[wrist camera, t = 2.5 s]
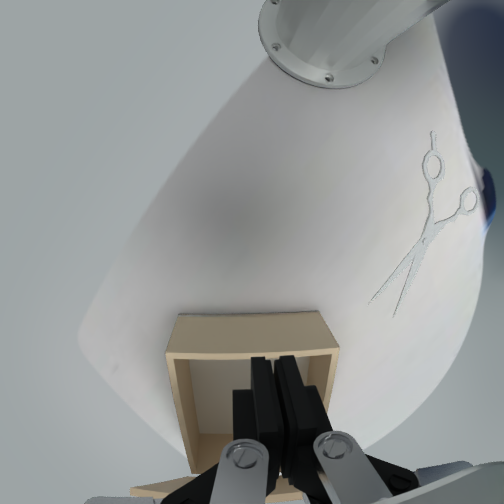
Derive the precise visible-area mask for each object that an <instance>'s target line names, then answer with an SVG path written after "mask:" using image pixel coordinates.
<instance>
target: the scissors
mask: <svg viewBox="0 0 504 504" xmlns="http://www.w3.org/2000/svg"><path fill="white" fill-rule="evenodd" d="M430 136H431V148H432V151H428V153H427V154H426V155H425V156H424V160H423V163H422V169H423V174H424V176H425V179H426V180H427V182H428V186H429V194H428V196H427V201H428V204H429V215H428V218H427V220H426V223H425V226H424V229H423V232H422V235H421V238H420V239H419V241H418V242H417V243H416V245H415V246H414V247H413V248H412V250H411V251H410V252H409V253H408V255H407V256H406V257H405V258H404V259H403V261H402V262H401V263H400V265H399V266H398V267H397V268H396V270H395V271H394V272H393V274H392V275H391V276H390V277H389V279H388V280H387V281H386V282H385V284H384V285H383V286H382V287H381V288H380V290H379V291H378V292H377V293H376V295H375V296H374V297H373V298H372V300H371V301H370V302H369V304H370V303H371V302H372V301H373V300H374V299H375V298H376V297H377V296H378V295H379V294H380V293H381V292H382V291H383V290H384V289H385V288H386V287H387V286H388V285H390V284H391V283H392V282H393V280H394V279H395V278H396V277H397V276H398V275H399V274H400V273H401V272H402V271H403V270H404V269H405V268H406V267H407V266H408V265H409V264H410V263H411V262H412V261H413V263H412V266H411V269H410V272H409V275H408V278H407V281H406V284H405V287H404V290H403V292H402V295H401V298H400V301H399V303H398V306H397V309H396V311H395V313H396V312H397V310H398V308H399V306H400V304H401V303H402V301H403V299H404V297H405V295H406V293H407V291H408V289H409V287H410V285H411V283H412V281H413V279H414V277H415V275H416V273H417V271H418V269H419V266H420V264H421V262H422V259H423V257H424V255H425V252H426V250H427V248H428V245H429V244H430V243H431V242H432V241H433V240H434V239H435V237H436V236H437V235H438V233H439V232H440V231H441V230H442V229H443V227H444V226H445V225H446V224H447V223H449V222H454V221H455V219H456V218H457V216H458V215H459V214H464V215H470V214H472V213H474V212H475V211H476V209H477V207H478V205H479V193H478V191H477V190H476V189H475V188H472V187H469V188H467V189H466V190H464V191H463V193H462V194H461V195H460V207H459V208H458V209H457V211H456V212H455V214H454V215H453V216H451V217H450V218H448V219H445V220H443V221H439V222H437V223H434V210H433V192H434V189H435V187H436V184H437V183H438V182H439V181H441V180H442V179H444V175H445V164H444V160H443V157H442V156H441V154H440V153H439V152H438V151H437V148H436V132H434V131H431V133H430ZM433 155H436V157H437V158H438V159H439V161H440V171H439V174H438V176H437V177H436V178H434V179H433V178H432V177H431V176H430V175H429V174H428V170H427V164H428V161H429V159H430V157H431V156H433ZM471 191H473V192H474V193H475V195H476V204H475V206H474V208H473V209H472V210H470V211H466V210H465V208H464V200H465V198H466V196H467V195H468V193H470V192H471ZM413 259H414V260H413ZM394 315H395V314H394ZM393 317H394V316H393Z"/></svg>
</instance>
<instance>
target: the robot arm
mask: <svg viewBox="0 0 504 504" xmlns="http://www.w3.org/2000/svg"><path fill="white" fill-rule="evenodd" d="M448 1H450V0H266V1H265V3H264V4H263V7H262V9H261V11H260V15H259V20H258V32H259V36H260V39H261V42H262V44H263V46H264V48H265V50H266V52H267V53H268V55H269V56H270V57H271V59H272V60H273V61H274V62H275V63H276V64H277V65H278V66H279V67H280V68H281V69H283V70H284V71H285V72H287V73H288V74H290V75H291V76H293V77H295V78H297V79H299V80H301V81H303V82H305V83H308V84H311V85H314V86H317V87H324V88H347V87H352V86H355V85H357V84H360V83H362V82H364V81H365V80H367V79H369V78H370V77H371V76H372V75H373V74H374V73H376V72H377V70H378V69H379V68H380V66H381V64H382V62H383V59H384V56H385V45H386V44H388V43H389V42H390V41H392V40H393V39H394V38H396V37H397V36H398V35H400V34H401V33H403V32H404V31H405V30H407V29H408V28H410V27H411V26H413V25H414V24H415V23H417V22H418V21H420V20H421V19H423V18H424V17H426V16H427V15H429V14H430V13H432V12H433V11H435V10H436V9H438V8H439V7H441V6H442V5H444V4H445V3H447V2H448ZM273 48H276V49H277V50H278V51H275V50H273ZM325 78H327V79H328V80H329V82H328V81H326V80H325ZM232 402H233V441H232V442H230V443H228V444H227V445H226V446H225V447H224V448H223V450H222V452H221V456H220V461H219V462H218V463H217V464H215V465H214V466H212V467H211V468H210V469H208V470H207V471H205V472H204V473H202V474H201V475H199V476H198V477H196V478H194V479H193V480H191V481H190V482H188V483H187V484H185V485H183V486H182V487H180V488H178V489H177V490H175V491H173V492H172V493H170V494H168V495H167V496H166V497H165V498H160V499H154V498H153V497H92V498H91V499H88V500H87V501H86V502H85V503H84V504H265V499H266V497H267V496H268V495H269V494H270V493H271V492H273V491H274V490H275V488H276V481H277V479H278V478H279V472H280V467H281V473H282V478H283V479H285V478H288V483H289V485H293V486H294V487H295V488H296V489H298V490H300V491H301V493H302V497H303V500H304V502H305V504H504V462H502V461H499V462H489V463H484V464H479V465H476V466H473V465H472V464H470V463H469V462H466V461H457V462H453V463H447V464H442V465H437V466H432V467H426V468H419V469H417V470H416V471H415V472H412V471H410V470H408V469H405V468H402V467H399V466H397V465H394V464H391V463H388V462H385V461H382V460H380V459H377V458H374V457H372V456H369V455H367V454H364V452H363V451H362V449H361V448H360V446H359V445H358V443H357V442H356V440H355V439H354V438H353V437H352V436H351V435H349V434H347V433H345V432H341V431H333V429H332V427H331V424H330V421H329V419H328V416H327V413H326V411H325V408H324V405H323V403H322V400H321V397H320V395H319V392H318V389H317V387H316V386H315V385H309V386H304V384H303V381H302V378H301V375H300V372H299V369H298V366H297V362H296V359H295V356H294V355H284V356H279V359H276V360H274V373H273V369H272V364H271V360H266V359H265V356H263V357H251V389H236V390H232Z"/></svg>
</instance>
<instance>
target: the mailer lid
mask: <svg viewBox="0 0 504 504" xmlns="http://www.w3.org/2000/svg"><path fill="white" fill-rule="evenodd" d="M194 478H196V477H188V476H187V477H183V478H179V479H174V480H170V481H165V482H161V483H155V484H150V485H144V486H137V487H131V488H130V495H132V496H138V497H153V498H154V499H160V498H165V497H166V496H167V495H168V494H170V493H172V492H173V491H175V490H177V489H178V488H180V487H182V486H183V485H185V484H187V483H188V482H190V481H191V480H193V479H194ZM302 499H303V497H302V493H301V491H300V490H298V489H296V488H295V487H294V486H293V485H289V483H288V478H285V479H283V478H282V475H280V476H279V478H278V479H277V481H276V488H275V490H274V491H273V492H271V493H270V494H269V495H268V496H267V497H266V499H265V503H272V502H283V501H293V500H302Z"/></svg>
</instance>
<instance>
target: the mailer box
mask: <svg viewBox="0 0 504 504" xmlns="http://www.w3.org/2000/svg"><path fill="white" fill-rule="evenodd" d="M339 349H340V347H339V345H338V343H337V342H336V340H335V338H334V336H333V335H332V333H331V331H330V330H329V328H328V326H327V324H326V323H325V321H324V319H323V318H322V316H321V314H320V312H319V311H309V312H287V313H256V314H179V315H178V318H177V321H176V323H175V326H174V329H173V332H172V335H171V337H170V340H169V343H168V346H167V349H166V352H165V354H166V360H167V366H168V371H169V377H170V382H171V388H172V393H173V398H174V403H175V407H176V412H177V417H178V421H179V426H180V430H181V434H182V438H183V442H184V447H185V450H186V454H187V458H188V462H189V466H190V469H191V473H192V474H202V473H204V472H205V471H207V470H208V469H210V468H211V467H212V466H214V465H215V464H217V463H218V462H219V461H220V456H221V452H222V450H223V448H224V447H225V446H226V445H227V444H228V443H230V442H232V441H233V402H232V390H236V389H251V357H263V356H265V359H266V360H271V364H272V369H273V373H274V360H276V359H279V356H284V355H294V356H295V359H296V362H297V366H298V369H299V372H300V375H301V378H302V381H303V384H304V386H309V385H315V386H316V387H317V389H318V392H319V395H320V397H321V400H322V403H323V405H324V408H325V411H326V413H327V411H328V407H329V402H330V397H331V393H332V388H333V383H334V377H335V372H336V367H337V361H338V355H339ZM280 472H281V467H280Z"/></svg>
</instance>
